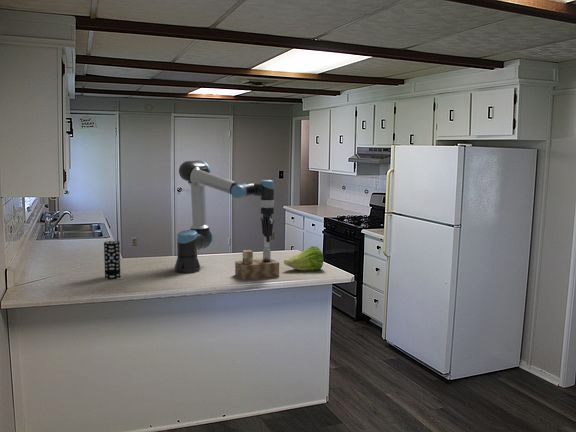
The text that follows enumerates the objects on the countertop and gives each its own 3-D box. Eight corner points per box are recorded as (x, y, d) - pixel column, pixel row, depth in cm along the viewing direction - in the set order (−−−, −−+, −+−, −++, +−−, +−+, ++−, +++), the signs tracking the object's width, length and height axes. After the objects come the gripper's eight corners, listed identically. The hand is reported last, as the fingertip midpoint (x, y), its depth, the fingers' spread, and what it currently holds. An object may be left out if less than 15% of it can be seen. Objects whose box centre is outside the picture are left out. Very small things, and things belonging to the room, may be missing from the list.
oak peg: (245, 265, 304) (245, 252, 303) (242, 264, 308) (242, 250, 306) (252, 265, 306) (252, 251, 305) (249, 263, 310) (249, 249, 308)
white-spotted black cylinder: (111, 280, 295) (110, 244, 292) (101, 277, 299) (100, 242, 296) (123, 277, 302) (122, 242, 299) (113, 274, 306) (112, 240, 303)
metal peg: (264, 263, 309) (264, 250, 308) (261, 262, 313) (261, 248, 312) (271, 263, 311) (271, 249, 310) (268, 261, 315) (268, 248, 314)
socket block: (243, 280, 300) (243, 266, 298) (235, 274, 311) (235, 261, 310) (279, 276, 310) (279, 262, 308) (269, 271, 321) (269, 258, 320)
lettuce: (289, 276, 314) (280, 272, 328) (326, 270, 324) (316, 266, 338) (287, 251, 313) (278, 249, 327) (324, 246, 322) (314, 243, 336)
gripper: (278, 208, 303) (277, 248, 307) (268, 205, 315) (268, 244, 318) (266, 208, 300) (265, 249, 303) (256, 206, 311) (256, 245, 315)
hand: (267, 247), depth 311 cm, fingers closed
